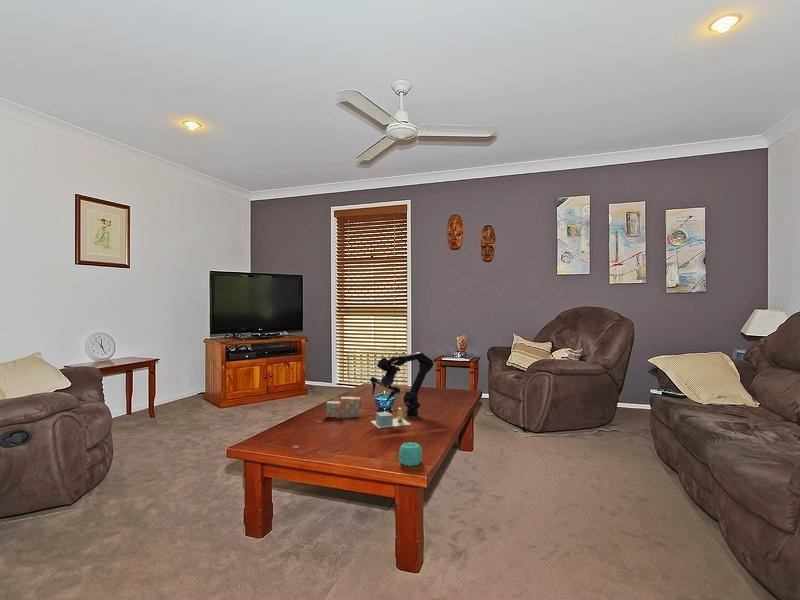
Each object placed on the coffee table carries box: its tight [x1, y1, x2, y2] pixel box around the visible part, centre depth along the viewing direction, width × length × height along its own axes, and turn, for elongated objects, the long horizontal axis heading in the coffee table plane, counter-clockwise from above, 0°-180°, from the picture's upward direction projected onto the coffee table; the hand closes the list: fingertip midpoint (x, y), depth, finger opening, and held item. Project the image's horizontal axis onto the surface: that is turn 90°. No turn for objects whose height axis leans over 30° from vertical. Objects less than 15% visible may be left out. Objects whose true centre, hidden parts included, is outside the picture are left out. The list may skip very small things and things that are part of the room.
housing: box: [375, 411, 394, 426], centre depth 254 cm, size 7×9×6 cm
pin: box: [397, 407, 404, 422], centre depth 258 cm, size 3×3×8 cm
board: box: [370, 417, 411, 429], centre depth 255 cm, size 20×15×4 cm
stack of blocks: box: [325, 396, 362, 419], centre depth 274 cm, size 21×6×12 cm, turn 85°
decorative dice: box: [398, 442, 423, 467], centre depth 196 cm, size 8×8×8 cm
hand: (379, 399), depth 257 cm, fingers open, 9 cm apart
